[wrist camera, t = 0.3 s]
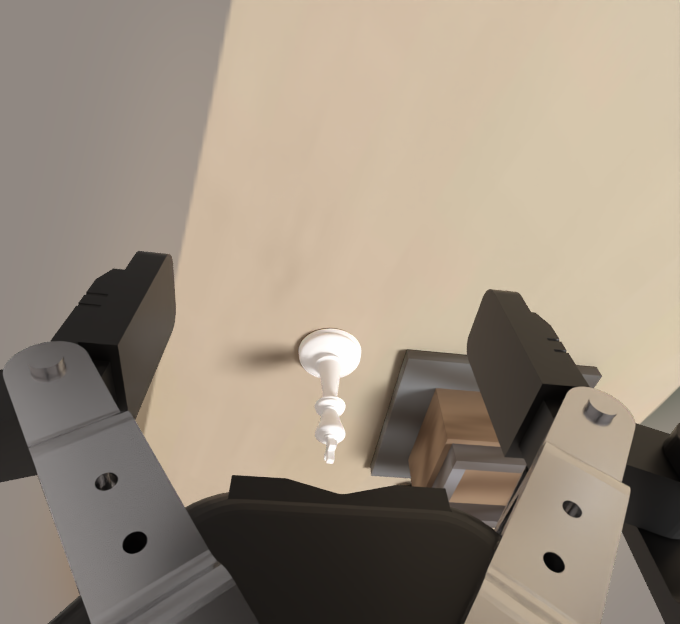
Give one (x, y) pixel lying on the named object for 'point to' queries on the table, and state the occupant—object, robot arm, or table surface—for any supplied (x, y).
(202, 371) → the table surface
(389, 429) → the pedestal
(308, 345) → the chess piece
